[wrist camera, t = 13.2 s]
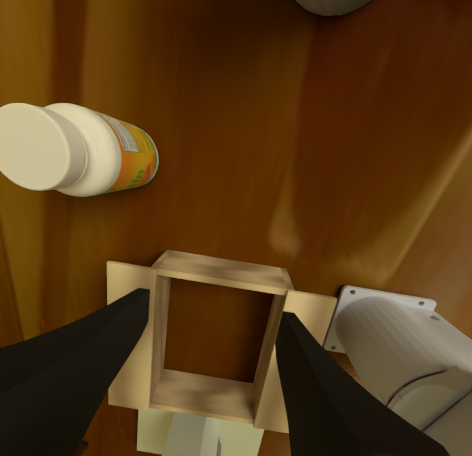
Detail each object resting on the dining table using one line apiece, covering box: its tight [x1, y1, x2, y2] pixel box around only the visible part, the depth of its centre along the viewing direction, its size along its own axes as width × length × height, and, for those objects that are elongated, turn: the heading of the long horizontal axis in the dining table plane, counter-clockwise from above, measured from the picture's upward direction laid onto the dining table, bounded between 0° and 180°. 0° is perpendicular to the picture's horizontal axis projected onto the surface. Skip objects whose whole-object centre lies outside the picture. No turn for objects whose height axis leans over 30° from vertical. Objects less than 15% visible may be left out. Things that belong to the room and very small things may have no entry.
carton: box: [107, 250, 337, 433], centre depth 22 cm, size 19×16×4 cm
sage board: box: [137, 408, 264, 456], centre depth 28 cm, size 16×12×1 cm
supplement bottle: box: [0, 103, 159, 197], centre depth 15 cm, size 5×5×10 cm
